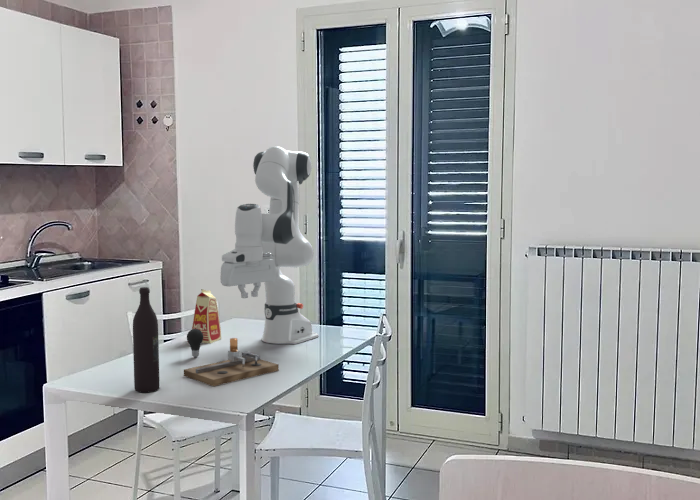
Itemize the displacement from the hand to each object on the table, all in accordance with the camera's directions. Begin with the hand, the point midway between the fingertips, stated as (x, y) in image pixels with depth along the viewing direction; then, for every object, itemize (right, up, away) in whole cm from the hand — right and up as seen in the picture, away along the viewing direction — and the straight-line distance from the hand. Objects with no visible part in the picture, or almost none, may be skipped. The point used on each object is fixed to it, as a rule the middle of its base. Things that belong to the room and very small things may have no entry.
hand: (249, 297), depth 230 cm
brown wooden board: (-5, -24, -5) cm, 25 cm away
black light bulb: (-21, -22, +15) cm, 33 cm away
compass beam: (-4, -22, -5) cm, 23 cm away
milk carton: (-22, -19, +42) cm, 51 cm away
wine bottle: (-27, -26, -23) cm, 43 cm away
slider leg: (-3, -21, -4) cm, 22 cm away
